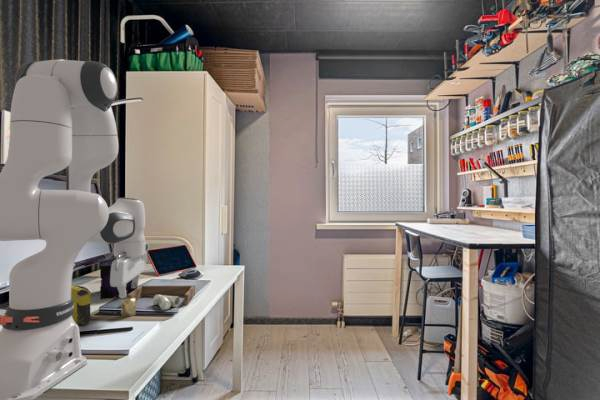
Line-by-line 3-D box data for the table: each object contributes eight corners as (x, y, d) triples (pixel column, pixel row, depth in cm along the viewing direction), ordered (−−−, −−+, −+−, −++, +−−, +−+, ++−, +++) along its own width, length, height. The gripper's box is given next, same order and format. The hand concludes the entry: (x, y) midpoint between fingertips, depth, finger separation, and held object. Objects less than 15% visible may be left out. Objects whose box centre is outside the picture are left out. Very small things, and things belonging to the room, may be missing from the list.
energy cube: (100, 299, 125) (100, 266, 125) (101, 291, 135) (101, 260, 135) (137, 295, 131) (137, 263, 130) (135, 287, 141) (135, 257, 141)
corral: (187, 305, 120) (187, 294, 120) (127, 305, 119) (127, 295, 119) (195, 294, 132) (195, 285, 132) (140, 295, 131) (140, 285, 131)
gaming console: (95, 324, 102) (95, 290, 102) (79, 328, 99) (79, 293, 98) (55, 307, 116) (55, 277, 116) (40, 310, 113) (40, 279, 112)
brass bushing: (132, 317, 108) (132, 301, 108) (119, 317, 108) (119, 301, 108) (137, 312, 112) (137, 297, 112) (124, 312, 112) (124, 297, 112)
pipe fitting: (168, 313, 114) (179, 305, 120) (167, 301, 113) (179, 294, 120) (146, 311, 116) (159, 303, 122) (146, 299, 115) (158, 292, 122)
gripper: (127, 256, 100) (126, 304, 101) (150, 243, 121) (149, 283, 121) (103, 256, 100) (103, 303, 100) (131, 243, 120) (130, 282, 121)
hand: (129, 292), depth 111 cm, fingers open, 8 cm apart
